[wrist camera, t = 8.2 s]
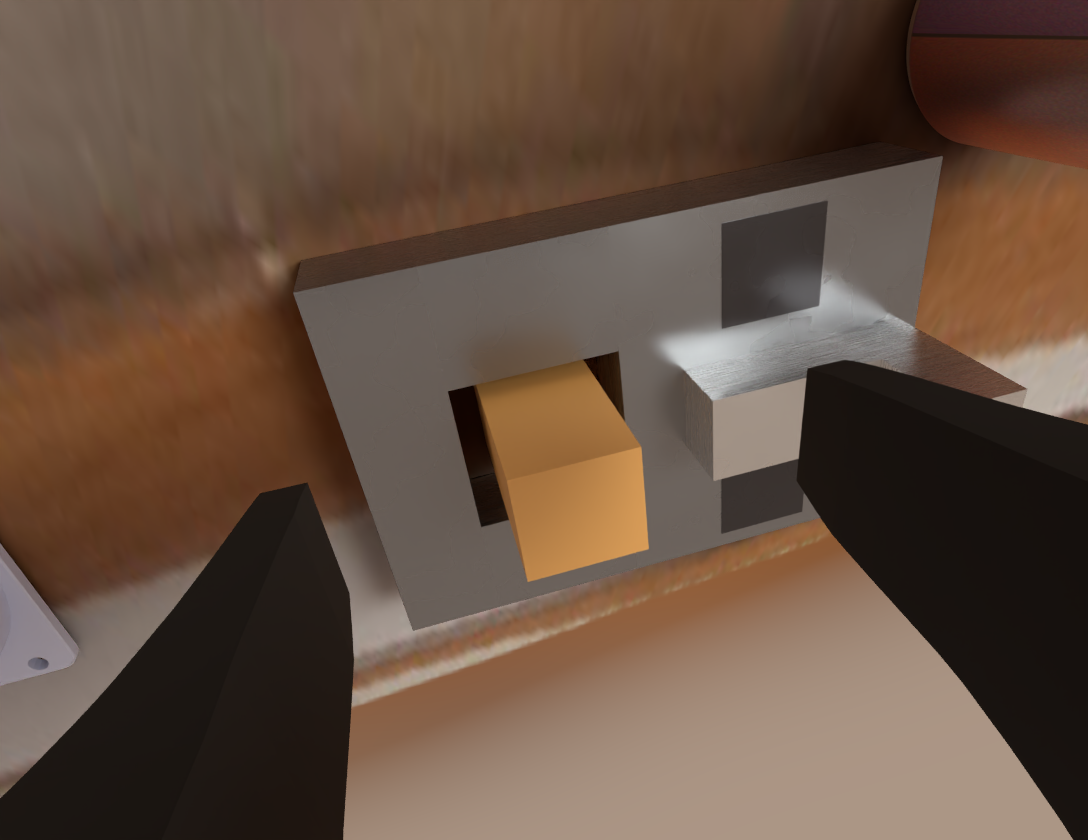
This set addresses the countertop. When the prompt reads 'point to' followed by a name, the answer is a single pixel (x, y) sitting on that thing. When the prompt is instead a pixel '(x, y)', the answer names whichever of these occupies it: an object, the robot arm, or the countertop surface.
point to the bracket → (779, 389)
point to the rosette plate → (602, 346)
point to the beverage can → (1004, 74)
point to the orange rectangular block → (564, 468)
